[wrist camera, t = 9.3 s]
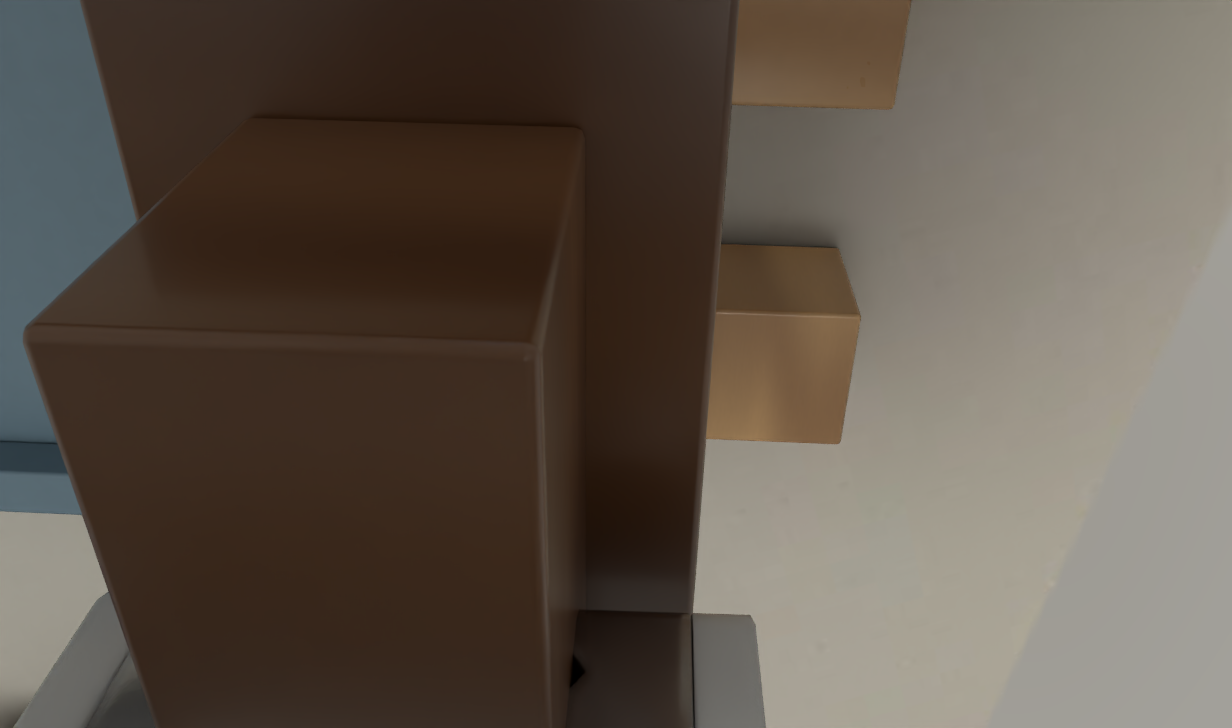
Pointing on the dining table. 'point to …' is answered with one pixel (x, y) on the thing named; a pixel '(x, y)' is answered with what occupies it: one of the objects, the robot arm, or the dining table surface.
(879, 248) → the dining table surface
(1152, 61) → the dining table surface
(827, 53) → the light brown wooden cube
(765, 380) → the brown wooden cube
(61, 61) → the tray
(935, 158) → the dining table surface
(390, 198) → the brush
